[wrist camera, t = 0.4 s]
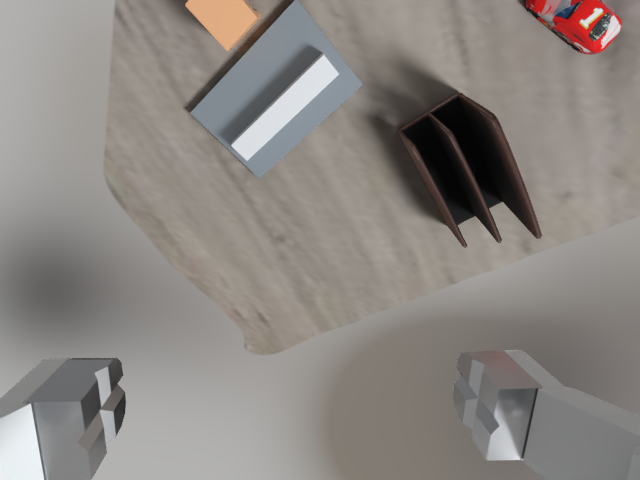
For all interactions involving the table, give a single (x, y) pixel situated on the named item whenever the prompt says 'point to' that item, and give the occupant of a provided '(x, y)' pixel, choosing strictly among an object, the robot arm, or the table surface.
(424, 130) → the letter holder
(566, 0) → the race car
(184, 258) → the table surface
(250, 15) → the block
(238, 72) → the rail board
